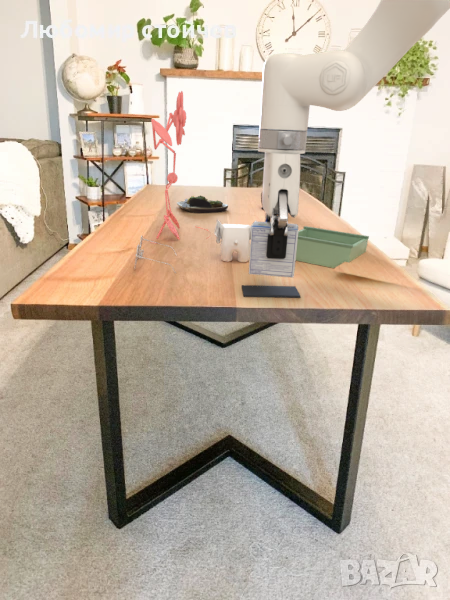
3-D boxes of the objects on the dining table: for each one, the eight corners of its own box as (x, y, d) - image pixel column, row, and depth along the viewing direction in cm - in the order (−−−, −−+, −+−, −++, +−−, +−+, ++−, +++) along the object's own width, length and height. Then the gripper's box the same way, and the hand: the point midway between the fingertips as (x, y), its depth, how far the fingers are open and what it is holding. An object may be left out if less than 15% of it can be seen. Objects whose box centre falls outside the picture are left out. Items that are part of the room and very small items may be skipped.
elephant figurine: (254, 251, 106) (257, 214, 102) (257, 266, 94) (259, 225, 91) (214, 249, 106) (216, 212, 102) (212, 264, 94) (213, 223, 91)
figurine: (148, 247, 106) (144, 85, 93) (160, 224, 130) (157, 93, 117) (213, 248, 107) (216, 88, 94) (212, 226, 131) (215, 96, 118)
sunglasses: (139, 254, 99) (142, 233, 98) (176, 260, 101) (179, 239, 99) (132, 273, 87) (135, 249, 85) (175, 280, 88) (179, 256, 86)
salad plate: (166, 204, 163) (165, 192, 161) (210, 202, 170) (210, 190, 169) (186, 214, 147) (186, 200, 145) (233, 211, 154) (234, 198, 153)
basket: (365, 259, 102) (369, 236, 100) (348, 271, 93) (351, 245, 91) (302, 247, 111) (305, 226, 109) (281, 257, 101) (283, 234, 99)
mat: (295, 288, 82) (295, 286, 82) (300, 298, 78) (300, 295, 77) (241, 287, 82) (241, 285, 82) (243, 296, 77) (243, 294, 77)
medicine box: (294, 271, 80) (299, 223, 77) (293, 279, 76) (298, 228, 73) (250, 267, 81) (253, 220, 78) (248, 275, 77) (251, 225, 74)
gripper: (317, 146, 63) (304, 268, 69) (295, 142, 78) (286, 242, 85) (265, 144, 62) (256, 267, 69) (253, 140, 78) (247, 241, 85)
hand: (273, 252), depth 77 cm, fingers closed on medicine box, 5 cm apart
